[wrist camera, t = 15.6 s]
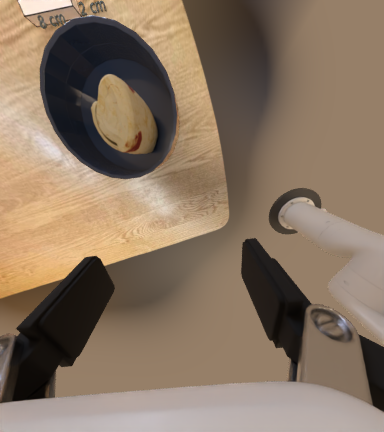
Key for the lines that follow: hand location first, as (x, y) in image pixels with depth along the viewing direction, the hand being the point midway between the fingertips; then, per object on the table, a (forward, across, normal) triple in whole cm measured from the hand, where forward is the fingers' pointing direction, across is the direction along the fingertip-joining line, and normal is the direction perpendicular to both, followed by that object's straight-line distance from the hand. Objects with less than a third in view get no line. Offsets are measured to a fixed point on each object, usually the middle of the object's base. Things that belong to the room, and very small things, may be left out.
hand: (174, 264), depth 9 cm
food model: (+35, +8, -12) cm, 38 cm away
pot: (+36, +12, -15) cm, 40 cm away
